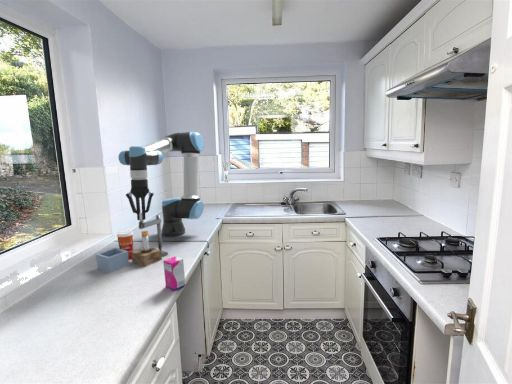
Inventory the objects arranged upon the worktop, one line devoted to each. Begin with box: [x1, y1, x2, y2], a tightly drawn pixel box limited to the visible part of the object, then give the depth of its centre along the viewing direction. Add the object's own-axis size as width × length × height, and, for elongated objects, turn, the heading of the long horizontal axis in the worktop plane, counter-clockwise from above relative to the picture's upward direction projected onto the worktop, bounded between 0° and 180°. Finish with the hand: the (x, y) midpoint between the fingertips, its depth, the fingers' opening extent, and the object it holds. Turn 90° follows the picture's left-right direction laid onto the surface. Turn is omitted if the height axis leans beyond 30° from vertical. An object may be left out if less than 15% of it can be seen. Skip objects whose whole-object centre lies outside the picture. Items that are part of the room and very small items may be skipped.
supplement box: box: [162, 256, 186, 292], centre depth 119 cm, size 6×6×12 cm
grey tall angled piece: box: [138, 214, 164, 253], centre depth 148 cm, size 13×2×20 cm, turn 152°
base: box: [162, 250, 169, 258], centre depth 154 cm, size 5×5×1 cm
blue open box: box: [95, 247, 130, 274], centre depth 141 cm, size 10×10×7 cm
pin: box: [141, 230, 150, 253], centre depth 146 cm, size 3×3×15 cm
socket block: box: [131, 246, 163, 267], centre depth 147 cm, size 10×10×5 cm
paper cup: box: [116, 229, 134, 261], centre depth 150 cm, size 8×8×14 cm
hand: (141, 226), depth 145 cm, fingers closed
